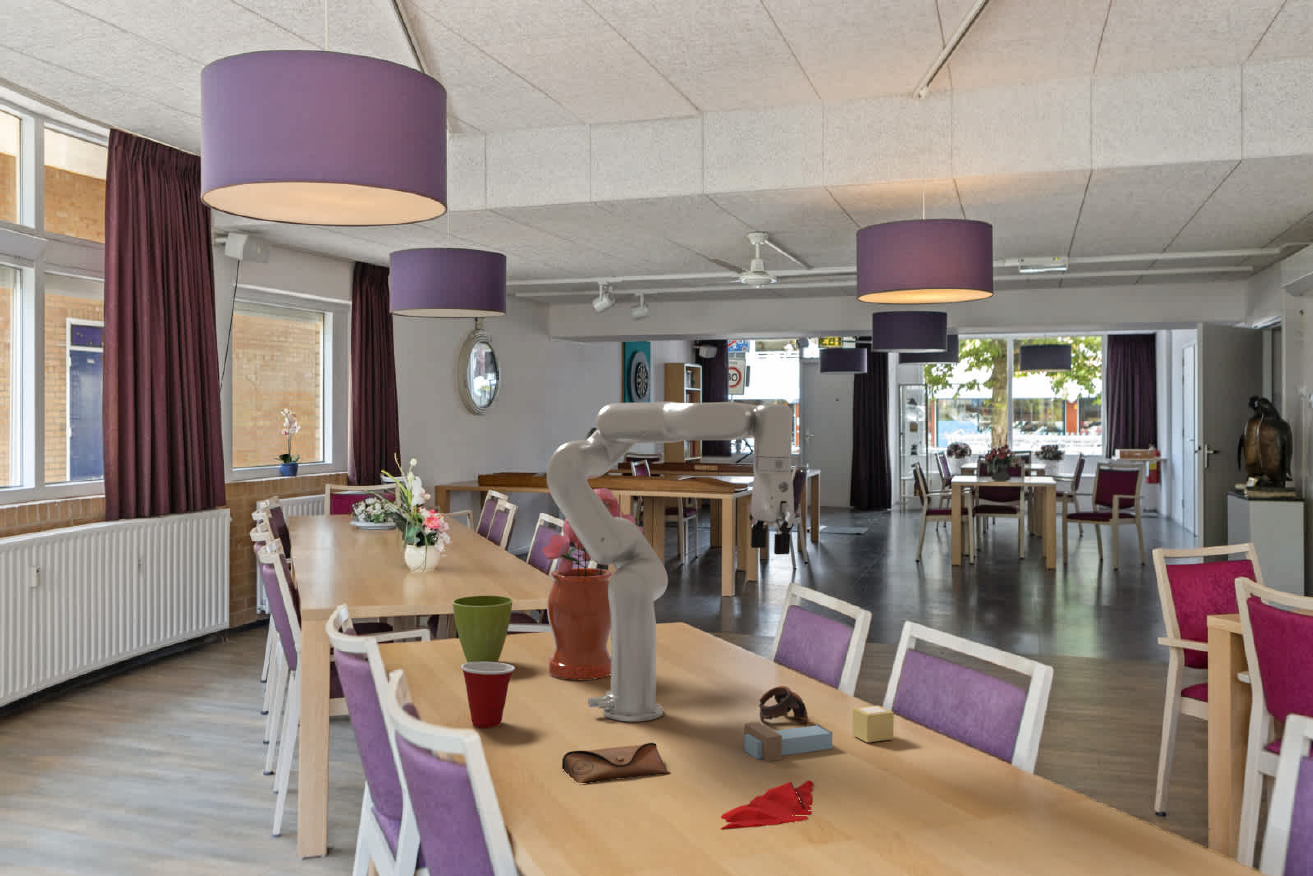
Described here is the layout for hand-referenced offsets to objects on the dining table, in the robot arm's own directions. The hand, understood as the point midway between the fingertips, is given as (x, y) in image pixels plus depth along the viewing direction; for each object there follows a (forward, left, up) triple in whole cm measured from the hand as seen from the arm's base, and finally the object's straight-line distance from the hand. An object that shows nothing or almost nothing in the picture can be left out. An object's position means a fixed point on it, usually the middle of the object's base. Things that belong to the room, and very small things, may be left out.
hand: (769, 550), depth 202 cm
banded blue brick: (-3, -14, -36) cm, 38 cm away
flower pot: (-42, +72, -36) cm, 91 cm away
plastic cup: (-52, +22, -36) cm, 67 cm away
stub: (+16, -14, -36) cm, 41 cm away
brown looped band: (+5, +3, -36) cm, 36 cm away
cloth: (-19, -38, -37) cm, 56 cm away
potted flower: (-20, +54, -36) cm, 68 cm away
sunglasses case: (-37, -13, -36) cm, 54 cm away
